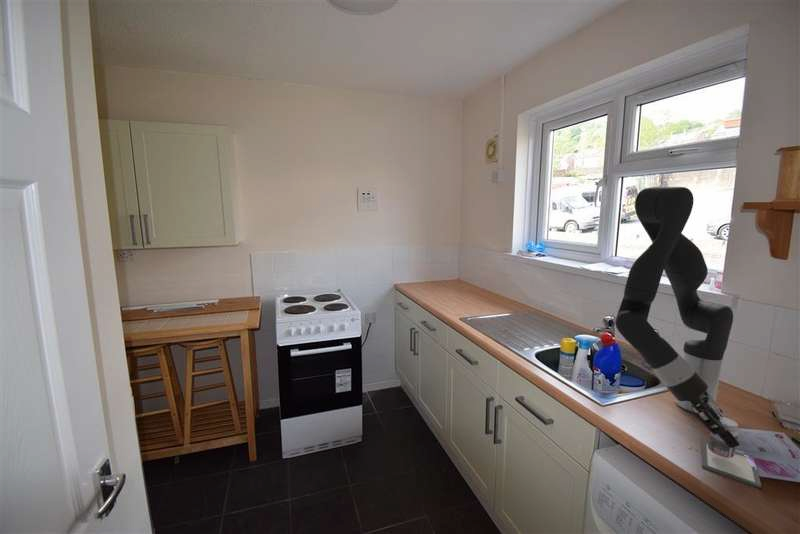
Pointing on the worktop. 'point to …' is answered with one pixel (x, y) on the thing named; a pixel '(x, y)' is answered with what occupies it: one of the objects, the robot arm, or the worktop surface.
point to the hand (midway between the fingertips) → (733, 440)
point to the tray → (730, 466)
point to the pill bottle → (717, 442)
